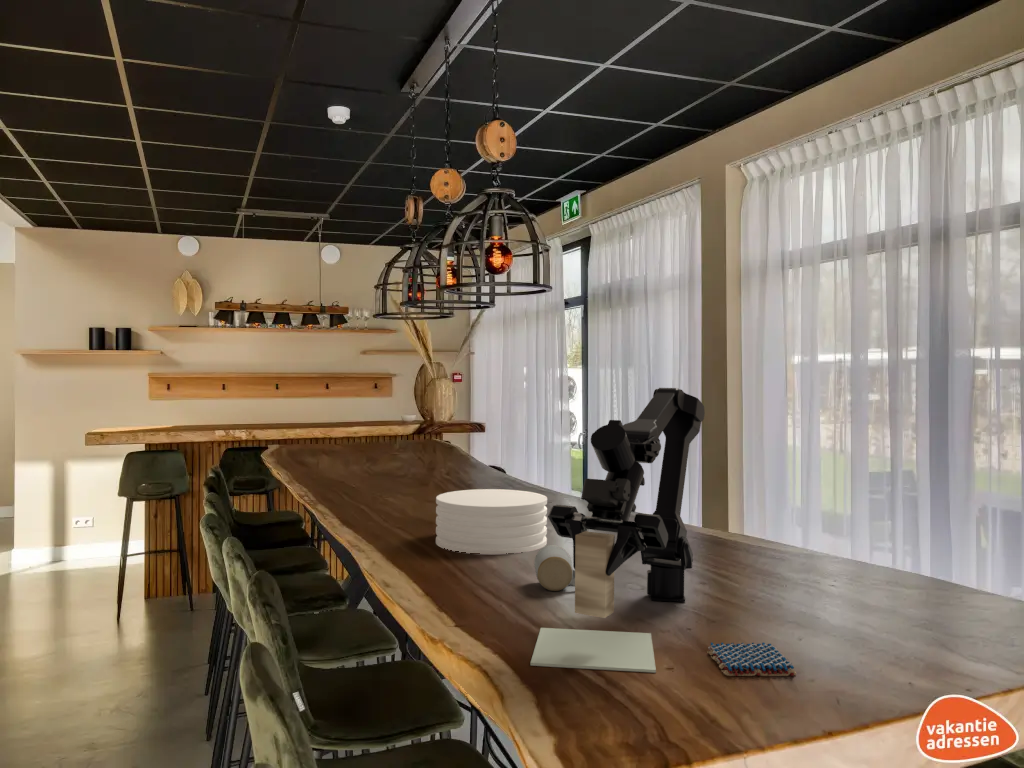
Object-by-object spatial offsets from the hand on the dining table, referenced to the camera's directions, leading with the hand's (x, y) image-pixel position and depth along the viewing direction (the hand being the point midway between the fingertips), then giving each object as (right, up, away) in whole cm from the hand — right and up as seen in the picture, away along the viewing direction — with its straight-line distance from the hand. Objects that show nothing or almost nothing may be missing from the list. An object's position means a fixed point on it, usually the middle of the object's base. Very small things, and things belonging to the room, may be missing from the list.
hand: (591, 571), depth 120 cm
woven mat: (+23, -13, -4) cm, 27 cm away
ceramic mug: (-2, -12, +37) cm, 39 cm away
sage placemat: (+1, -12, +1) cm, 12 cm away
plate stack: (-17, -12, +79) cm, 82 cm away
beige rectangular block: (+1, -7, +1) cm, 7 cm away
